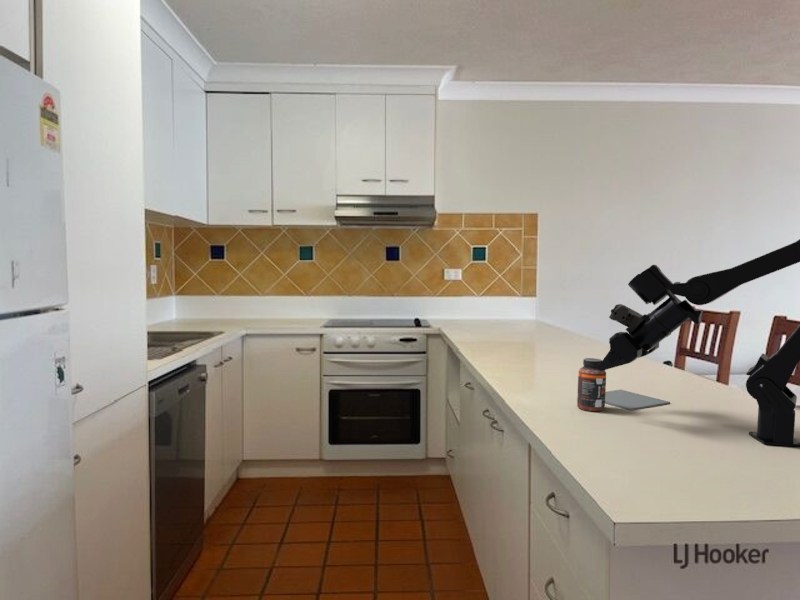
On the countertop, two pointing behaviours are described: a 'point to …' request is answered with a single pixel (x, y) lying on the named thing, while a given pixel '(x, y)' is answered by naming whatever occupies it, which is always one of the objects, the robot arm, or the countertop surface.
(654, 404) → the mat
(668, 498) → the countertop surface
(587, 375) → the supplement bottle
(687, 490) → the countertop surface
